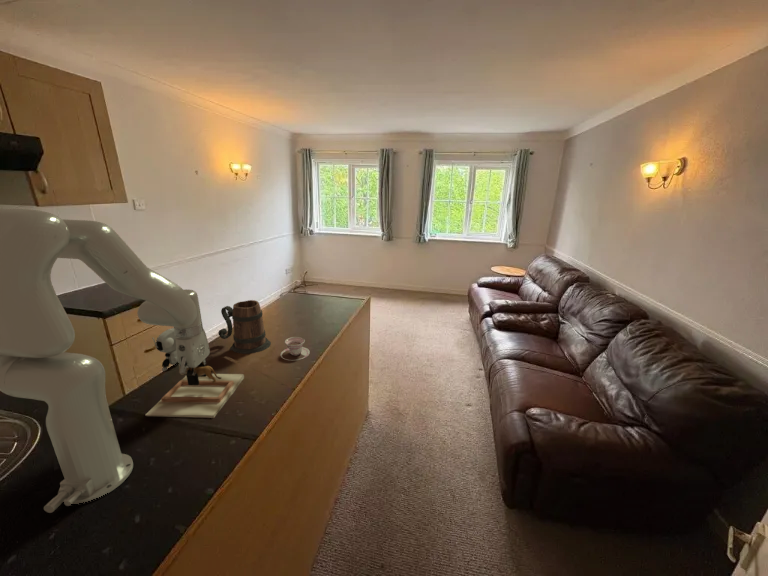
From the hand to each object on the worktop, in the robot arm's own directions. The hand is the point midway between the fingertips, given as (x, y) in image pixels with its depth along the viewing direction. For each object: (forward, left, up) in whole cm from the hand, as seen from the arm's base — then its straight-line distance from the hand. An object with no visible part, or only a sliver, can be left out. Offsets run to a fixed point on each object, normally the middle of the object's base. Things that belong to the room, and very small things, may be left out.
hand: (197, 379), depth 102 cm
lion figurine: (0, -1, -1) cm, 2 cm away
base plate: (0, 0, -6) cm, 6 cm away
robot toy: (+19, +19, -6) cm, 28 cm away
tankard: (+36, 0, -6) cm, 36 cm away
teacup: (+29, -24, -7) cm, 38 cm away
